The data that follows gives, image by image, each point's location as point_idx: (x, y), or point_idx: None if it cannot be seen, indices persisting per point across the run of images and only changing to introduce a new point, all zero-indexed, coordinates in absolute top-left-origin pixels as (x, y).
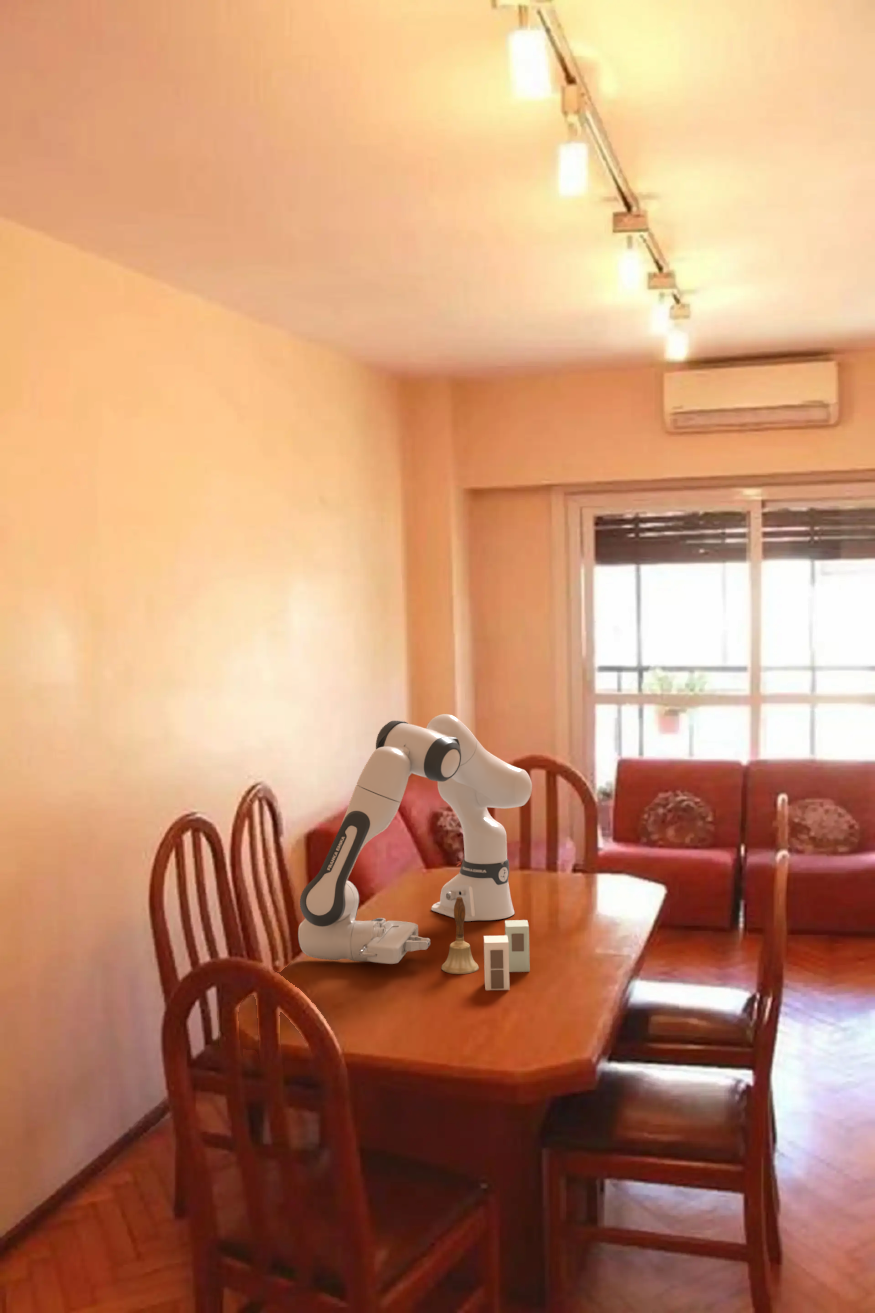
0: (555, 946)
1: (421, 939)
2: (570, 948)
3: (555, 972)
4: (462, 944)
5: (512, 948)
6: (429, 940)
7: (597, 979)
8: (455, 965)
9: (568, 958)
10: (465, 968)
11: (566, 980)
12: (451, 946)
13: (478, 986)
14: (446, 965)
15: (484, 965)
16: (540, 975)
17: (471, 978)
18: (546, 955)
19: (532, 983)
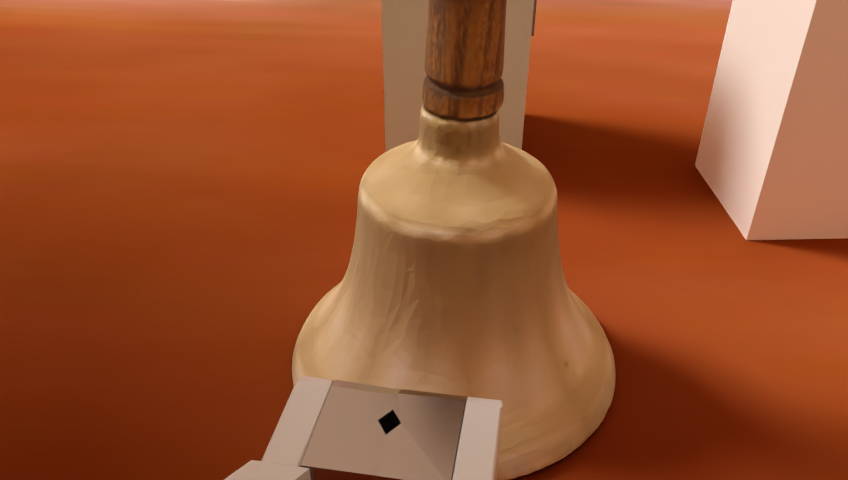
0: (126, 53)
1: (357, 468)
2: (177, 31)
3: None
4: (512, 148)
5: (533, 15)
6: (348, 383)
7: (577, 9)
8: (579, 333)
9: (315, 38)
10: (575, 295)
11: (608, 49)
12: (518, 224)
13: (841, 264)
14: (534, 407)
15: (813, 126)
16: (556, 90)
17: (686, 295)
18: (253, 72)
19: (683, 108)
